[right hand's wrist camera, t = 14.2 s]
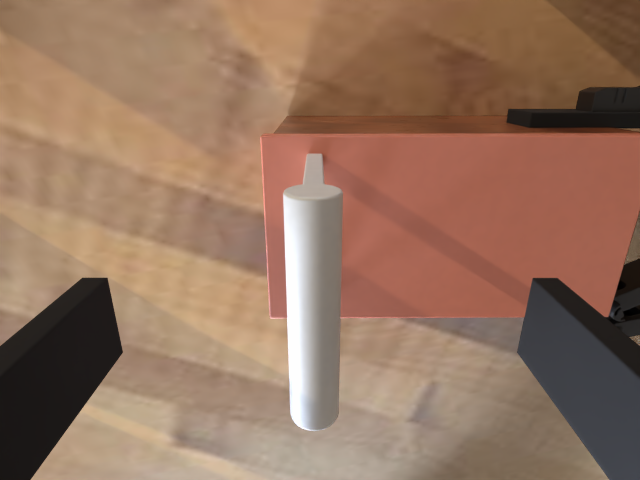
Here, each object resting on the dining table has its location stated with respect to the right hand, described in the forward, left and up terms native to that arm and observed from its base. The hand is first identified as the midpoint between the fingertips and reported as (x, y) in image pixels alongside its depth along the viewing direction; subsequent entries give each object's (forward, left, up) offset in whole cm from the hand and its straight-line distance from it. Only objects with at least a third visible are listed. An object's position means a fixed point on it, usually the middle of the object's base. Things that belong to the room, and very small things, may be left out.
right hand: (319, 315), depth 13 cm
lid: (+4, -5, -8) cm, 10 cm away
